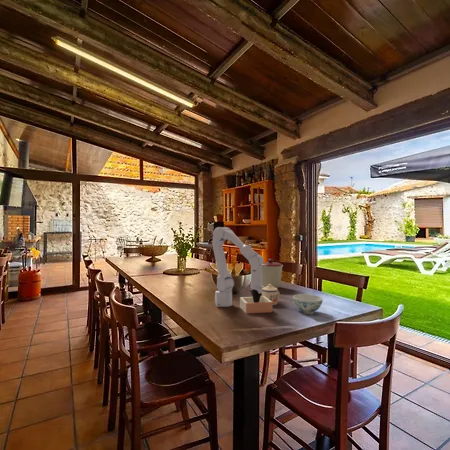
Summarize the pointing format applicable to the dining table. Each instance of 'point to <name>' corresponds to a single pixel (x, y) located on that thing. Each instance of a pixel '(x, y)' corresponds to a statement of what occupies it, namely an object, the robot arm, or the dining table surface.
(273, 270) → the canister
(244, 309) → the box
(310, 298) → the chinaware
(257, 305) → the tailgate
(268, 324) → the dining table surface
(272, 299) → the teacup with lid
